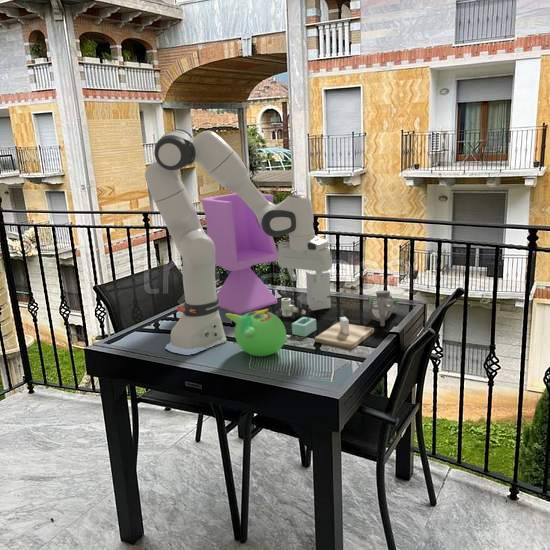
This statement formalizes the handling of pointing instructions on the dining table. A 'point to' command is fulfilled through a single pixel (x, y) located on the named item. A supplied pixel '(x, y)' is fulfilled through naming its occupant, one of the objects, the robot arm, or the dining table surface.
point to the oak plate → (344, 336)
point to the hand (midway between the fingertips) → (305, 281)
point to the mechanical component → (382, 306)
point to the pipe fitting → (374, 312)
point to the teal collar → (304, 326)
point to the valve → (293, 308)
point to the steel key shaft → (344, 325)
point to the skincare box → (318, 291)
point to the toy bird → (259, 332)
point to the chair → (239, 252)
